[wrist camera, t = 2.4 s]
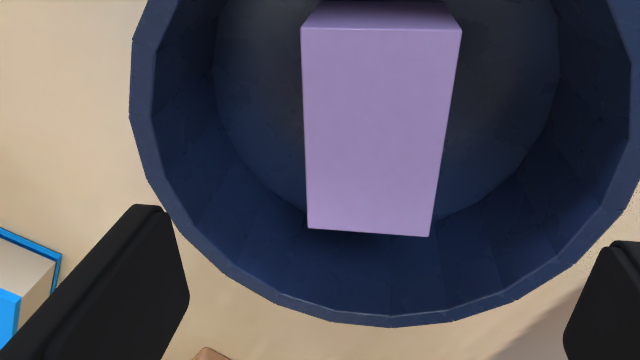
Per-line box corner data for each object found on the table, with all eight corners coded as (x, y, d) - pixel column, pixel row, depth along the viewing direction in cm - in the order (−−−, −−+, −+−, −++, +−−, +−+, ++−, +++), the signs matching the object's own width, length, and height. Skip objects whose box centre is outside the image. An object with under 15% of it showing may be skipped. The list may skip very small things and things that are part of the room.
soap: (320, 0, 16) (299, 27, 12) (444, 1, 15) (462, 29, 12) (322, 170, 20) (307, 228, 16) (420, 175, 19) (428, 237, 16)
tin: (167, -125, 15) (53, -145, 10) (643, -140, 13) (808, -173, 8) (226, 221, 23) (182, 307, 18) (520, 244, 21) (562, 346, 16)
